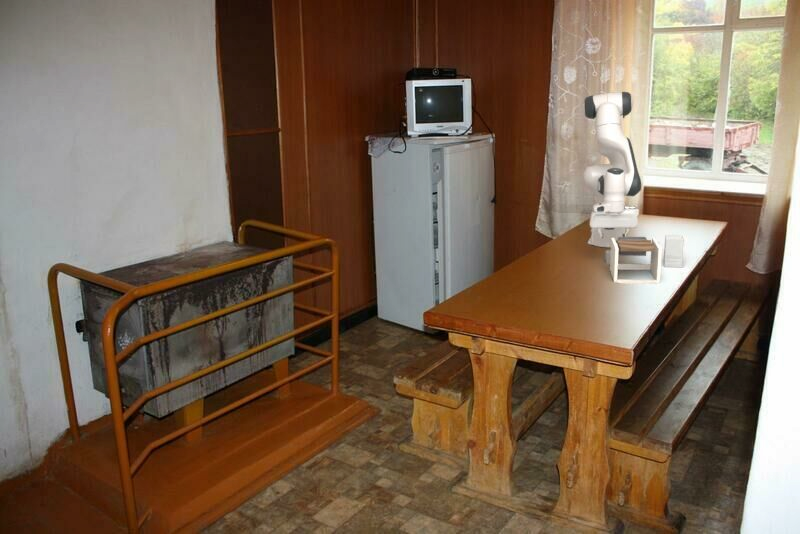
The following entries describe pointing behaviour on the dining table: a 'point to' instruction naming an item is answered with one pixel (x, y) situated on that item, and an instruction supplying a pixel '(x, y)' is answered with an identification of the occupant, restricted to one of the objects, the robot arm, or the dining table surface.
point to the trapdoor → (634, 246)
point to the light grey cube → (608, 256)
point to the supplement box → (673, 250)
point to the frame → (653, 266)
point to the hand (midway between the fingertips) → (612, 237)
